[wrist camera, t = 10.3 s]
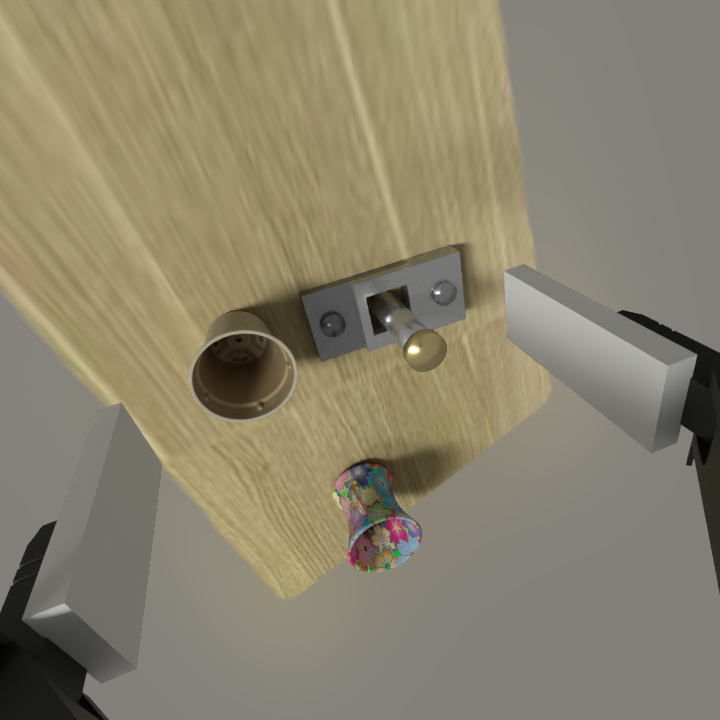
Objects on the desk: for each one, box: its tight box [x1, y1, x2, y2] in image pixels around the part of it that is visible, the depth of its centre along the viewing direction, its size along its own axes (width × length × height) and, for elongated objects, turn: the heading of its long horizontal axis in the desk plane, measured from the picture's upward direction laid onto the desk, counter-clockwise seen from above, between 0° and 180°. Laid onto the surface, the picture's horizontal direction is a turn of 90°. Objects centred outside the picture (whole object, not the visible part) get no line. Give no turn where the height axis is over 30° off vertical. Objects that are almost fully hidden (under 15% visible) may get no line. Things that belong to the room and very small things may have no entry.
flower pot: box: [188, 311, 298, 423], centre depth 43 cm, size 9×9×9 cm
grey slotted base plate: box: [300, 246, 466, 362], centre depth 49 cm, size 8×17×3 cm, turn 102°
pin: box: [370, 291, 447, 372], centre depth 45 cm, size 4×4×12 cm
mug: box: [332, 463, 422, 572], centre depth 57 cm, size 12×9×11 cm
